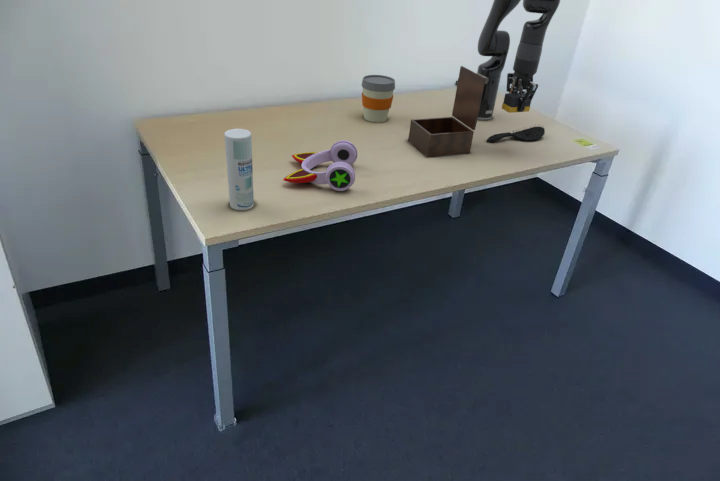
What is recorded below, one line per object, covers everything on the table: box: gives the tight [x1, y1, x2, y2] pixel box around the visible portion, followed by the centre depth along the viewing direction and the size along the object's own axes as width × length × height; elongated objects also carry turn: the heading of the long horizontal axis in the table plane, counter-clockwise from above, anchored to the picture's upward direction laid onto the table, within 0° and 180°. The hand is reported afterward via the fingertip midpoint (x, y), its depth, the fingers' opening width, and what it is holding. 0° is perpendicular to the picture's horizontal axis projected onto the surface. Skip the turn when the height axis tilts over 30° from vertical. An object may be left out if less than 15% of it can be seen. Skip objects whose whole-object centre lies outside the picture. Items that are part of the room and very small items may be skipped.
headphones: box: [283, 139, 358, 192], centre depth 156 cm, size 20×10×20 cm
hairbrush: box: [486, 124, 546, 143], centre depth 196 cm, size 8×4×25 cm
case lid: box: [451, 65, 489, 131], centre depth 179 cm, size 17×15×5 cm
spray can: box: [223, 128, 255, 211], centre depth 135 cm, size 6×6×20 cm
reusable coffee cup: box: [361, 74, 396, 123], centre depth 201 cm, size 13×13×15 cm
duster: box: [501, 92, 532, 114], centre depth 176 cm, size 8×4×5 cm, turn 111°
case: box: [407, 116, 475, 158], centre depth 182 cm, size 17×15×8 cm
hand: (515, 108), depth 177 cm, fingers closed on duster, 4 cm apart
